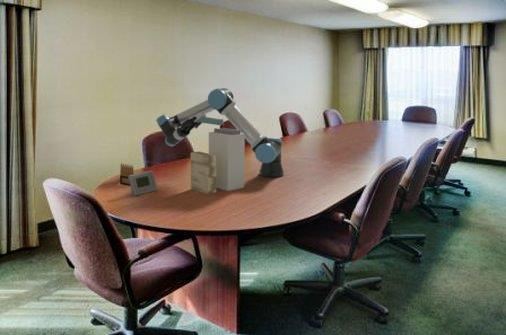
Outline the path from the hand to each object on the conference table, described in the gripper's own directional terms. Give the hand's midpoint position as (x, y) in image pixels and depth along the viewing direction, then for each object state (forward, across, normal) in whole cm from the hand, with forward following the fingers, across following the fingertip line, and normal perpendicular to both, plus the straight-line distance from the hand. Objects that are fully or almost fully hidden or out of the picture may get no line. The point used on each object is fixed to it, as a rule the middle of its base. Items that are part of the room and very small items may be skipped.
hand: (202, 114), depth 258 cm
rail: (+2, 0, -6) cm, 6 cm away
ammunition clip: (-36, +38, -24) cm, 58 cm away
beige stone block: (-4, +14, -42) cm, 45 cm away
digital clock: (-18, +40, -34) cm, 56 cm away
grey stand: (-2, -1, -43) cm, 43 cm away
